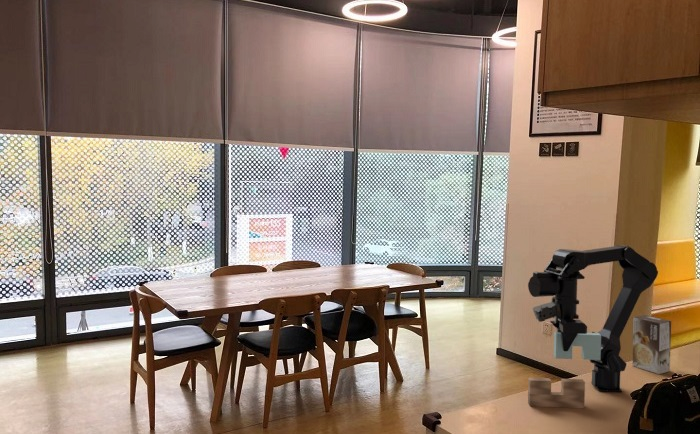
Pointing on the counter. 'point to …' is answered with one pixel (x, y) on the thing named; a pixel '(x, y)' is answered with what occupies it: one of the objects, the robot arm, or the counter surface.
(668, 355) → the coffee box
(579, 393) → the walnut slotted plate
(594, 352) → the teal slotted plate
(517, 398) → the counter surface
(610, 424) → the counter surface
